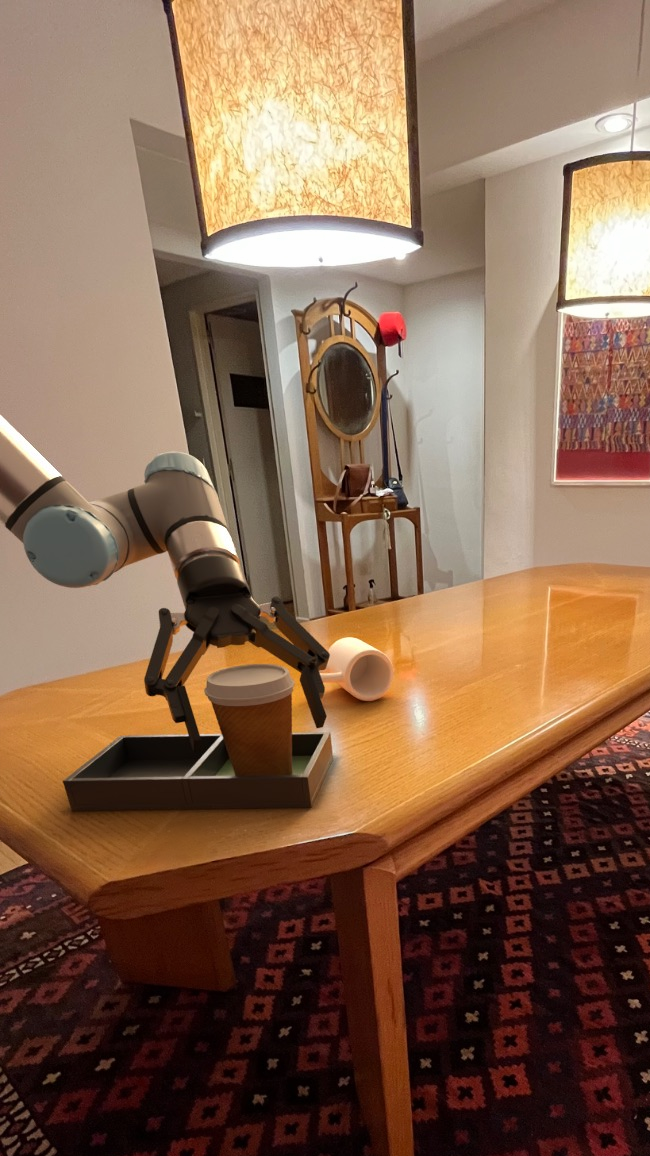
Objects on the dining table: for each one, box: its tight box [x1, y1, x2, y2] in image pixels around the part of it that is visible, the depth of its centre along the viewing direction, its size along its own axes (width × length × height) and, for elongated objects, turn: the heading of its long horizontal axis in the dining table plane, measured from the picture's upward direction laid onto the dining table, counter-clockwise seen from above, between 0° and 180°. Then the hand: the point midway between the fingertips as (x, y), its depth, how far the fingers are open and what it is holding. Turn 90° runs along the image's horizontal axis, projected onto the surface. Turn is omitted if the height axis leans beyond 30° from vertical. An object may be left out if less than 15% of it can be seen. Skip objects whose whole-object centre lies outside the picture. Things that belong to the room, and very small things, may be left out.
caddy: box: [62, 731, 334, 812], centre depth 77 cm, size 26×13×4 cm, turn 89°
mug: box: [319, 636, 395, 702], centre depth 106 cm, size 12×10×8 cm
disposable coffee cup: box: [203, 663, 296, 776], centre depth 75 cm, size 10×10×12 cm
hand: (262, 734), depth 73 cm, fingers open, 13 cm apart
